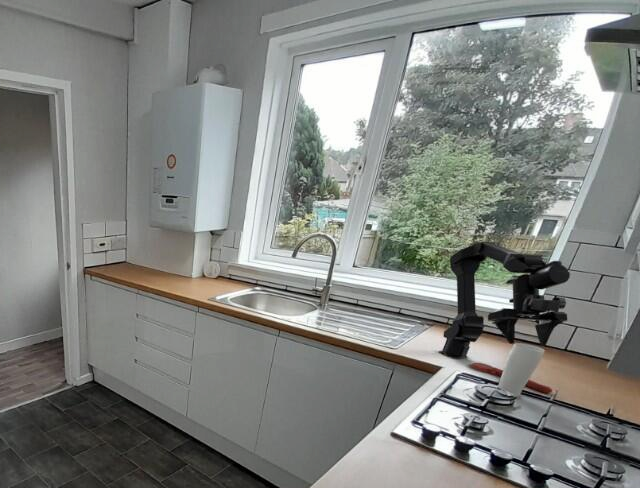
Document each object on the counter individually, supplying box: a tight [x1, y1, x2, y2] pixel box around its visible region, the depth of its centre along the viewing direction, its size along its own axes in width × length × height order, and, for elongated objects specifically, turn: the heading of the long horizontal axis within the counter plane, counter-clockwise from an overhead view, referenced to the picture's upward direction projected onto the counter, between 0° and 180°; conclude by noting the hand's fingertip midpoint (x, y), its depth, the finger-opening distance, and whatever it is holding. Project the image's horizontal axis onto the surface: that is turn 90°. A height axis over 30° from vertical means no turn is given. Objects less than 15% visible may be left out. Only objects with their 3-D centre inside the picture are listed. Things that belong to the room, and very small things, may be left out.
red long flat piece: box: [470, 362, 553, 394], centre depth 132 cm, size 22×6×2 cm, turn 17°
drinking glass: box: [497, 342, 545, 398], centre depth 119 cm, size 7×7×15 cm
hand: (527, 344), depth 122 cm, fingers open, 9 cm apart
